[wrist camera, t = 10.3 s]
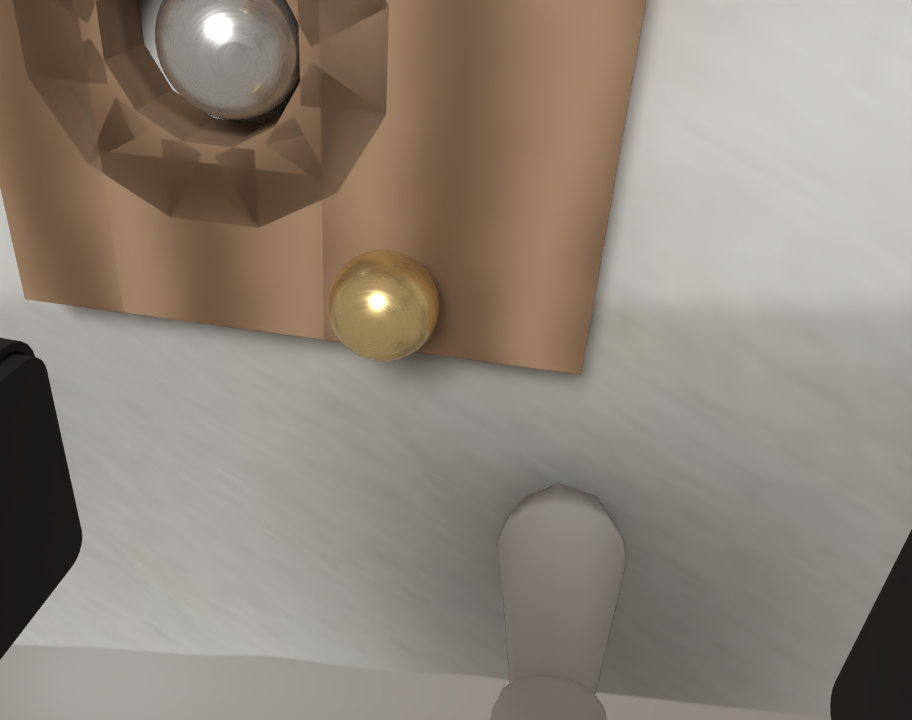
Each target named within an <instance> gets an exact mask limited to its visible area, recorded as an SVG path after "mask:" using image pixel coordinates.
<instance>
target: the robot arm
mask: <svg viewBox="0 0 912 720" xmlns="http://www.w3.org/2000/svg"><path fill="white" fill-rule="evenodd" d="M81 544H82V530H81V526H80V521H79V516H78V512H77V507H76V503H75V498H74V493H73V489H72V484H71V479H70V475H69V470H68V466H67V461H66V456H65V452H64V447H63V443H62V438H61V433H60V429H59V424H58V419H57V415H56V410H55V406H54V401H53V396H52V392H51V387H50V383H49V378H48V373H47V369H46V367H45V364H44V363H43V361H42V360H41V359H39V358H36V357H35V355H34V353H33V350H32V349H31V348H30V347H29V345H28V344H26V343H23V342H21V341H15V340H10V339H4V338H0V659H1V658H2V657H3V655H4V654H5V653H6V651H7V650H8V649H9V648H10V646H11V645H12V644H13V642H14V641H15V640H16V639H17V637H18V636H19V635H20V633H21V632H22V631H23V629H24V628H25V627H26V626H27V624H28V623H29V622H30V620H31V619H32V618H33V616H34V615H35V614H36V613H37V611H38V610H39V609H40V607H41V606H42V605H43V603H44V602H45V601H46V600H47V598H48V597H49V596H50V594H51V593H52V592H53V590H54V589H55V588H56V587H57V585H58V584H59V583H60V581H61V580H62V579H63V577H64V576H65V575H66V574H67V572H68V571H69V570H70V568H71V567H72V566H73V564H74V562H75V561H76V559H77V557H78V554H79V552H80V548H81ZM830 706H831V720H912V530H911V532H910V534H909V536H908V538H907V540H906V542H905V544H904V546H903V548H902V550H901V552H900V554H899V556H898V558H897V560H896V562H895V564H894V566H893V568H892V570H891V572H890V574H889V576H888V578H887V580H886V582H885V584H884V586H883V588H882V590H881V592H880V594H879V596H878V598H877V600H876V602H875V604H874V606H873V608H872V610H871V612H870V614H869V616H868V618H867V620H866V622H865V624H864V626H863V628H862V630H861V632H860V634H859V636H858V638H857V640H856V642H855V644H854V646H853V648H852V650H851V652H850V654H849V656H848V658H847V660H846V662H845V664H844V666H843V668H842V670H841V672H840V673H839V675H838V677H837V679H836V681H835V684H834V687H833V690H832V695H831V705H830Z"/></svg>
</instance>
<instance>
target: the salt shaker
mask: <svg viewBox="0 0 912 720" xmlns="http://www.w3.org/2000/svg"><path fill="white" fill-rule="evenodd" d="M497 546H498V556H499V565H500V575H501V584H502V594H503V603H504V616H505V629H506V642H507V655H508V669H509V682H510V684H509V685H508V686H506V687H504V688H503V690H502V692H501V694H500V696H499V697H498V699H497V701H496V703H495V705H494V707H493V709H492V714H491V720H606V712H605V710H604V707H603V705H602V704H601V703H600V701H599V700H598V699H597V697H596V696H595V693H596V689H597V685H598V681H599V676H600V672H601V668H602V663H603V659H604V655H605V651H606V646H607V642H608V638H609V633H610V629H611V625H612V620H613V616H614V612H615V608H616V603H617V599H618V595H619V590H620V586H621V582H622V578H623V573H624V569H625V565H626V562H625V552H624V542H623V539H622V535H621V533H620V532H619V530H618V529H617V527H616V526H615V524H614V523H613V521H612V520H611V519H610V517H609V516H608V514H607V513H606V511H605V510H604V508H603V507H602V506H601V504H600V503H599V501H598V500H597V498H596V497H595V496H594V495H591V494H588V493H585V492H582V491H579V490H576V489H573V488H570V487H567V486H564V485H561V484H556V485H554V486H551V487H549V488H547V489H544V490H542V491H539V492H537V493H535V494H532V495H530V496H528V497H525V499H524V500H523V501H522V502H521V503H520V504H519V505H518V507H517V508H516V509H515V510H514V511H513V512H512V513H511V515H510V516H509V517H508V519H507V521H506V524H505V526H504V528H503V530H502V532H501V535H500V537H499V540H498V543H497Z"/></svg>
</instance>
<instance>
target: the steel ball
mask: <svg viewBox="0 0 912 720" xmlns="http://www.w3.org/2000/svg"><path fill="white" fill-rule="evenodd" d="M155 43H156V49H157V54H158V58H159V61H160V64H161V66H162V69H163V71H164V73H165V75H166V76H167V78H168V80H169V81H170V83H171V84H172V85H173V87H174V88H175V89H176V90H177V92H178V93H179V94H180V95H181V96H182V97H183V98H184V99H186V100H187V101H188V102H189V103H191V104H192V105H193V106H195V107H197V108H198V109H200V110H202V111H204V112H206V113H208V114H211V115H214V116H217V117H221V118H226V119H249V118H254V117H258V116H260V115H263V114H266V113H268V112H270V111H272V110H274V109H275V108H276V107H278V106H279V105H281V104H282V103H283V102H284V101H285V100H286V99H287V98H288V97H289V96H290V95H291V93H292V92H293V91H294V89H295V88H296V86H297V84H298V82H299V80H300V57H299V23H298V22H297V20H296V18H295V16H294V14H293V12H292V10H291V8H290V6H289V5H288V3H287V1H286V0H163V1H162V3H161V6H160V8H159V11H158V15H157V19H156V26H155Z"/></svg>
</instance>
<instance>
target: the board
mask: <svg viewBox="0 0 912 720" xmlns="http://www.w3.org/2000/svg"><path fill="white" fill-rule="evenodd" d="M286 1H287V3H288V5H289V6H290V8H291V10H292V12H293V14H294V16H295V18H296V20H297V22H298V23H299V57H300V83H299V85H298V87H297V88H296V90H295V92H294V94H293V96H292V97H291V99H290V101H289V103H288V105H287V106H286V108H285V110H284V112H283V113H282V114H280V115H278V116H276V117H274V118H272V119H270V120H268V121H266V122H264V123H262V124H258V123H249V122H240V121H232V120H223V119H214V118H213V117H211V116H210V115H208V114H207V113H205V112H204V111H202V110H200V109H198V108H197V107H195V106H193V105H192V104H191V103H189V102H188V101H187V100H186V99H184V98H183V97H182V96H180V95H179V94H177V93H176V92H175V91H173V90H172V89H171V87H170V86H169V84H168V83H167V81H166V79H165V78H164V76H163V74H162V73H161V71H160V70H159V68H158V66H157V65H156V63H155V61H154V60H153V58H152V56H151V55H150V53H149V52H148V50H147V48H146V47H145V45H144V43H143V36H142V27H141V19H140V11H139V2H138V0H0V188H1V193H2V197H3V202H4V206H5V211H6V215H7V220H8V224H9V229H10V233H11V238H12V242H13V247H14V251H15V256H16V260H17V265H18V269H19V274H20V278H21V283H22V287H23V292H24V296H25V299H28V300H35V301H42V302H50V303H57V304H65V305H72V306H79V307H87V308H94V309H101V310H109V311H116V312H124V313H131V314H138V315H146V316H153V317H160V318H168V319H175V320H182V321H190V322H197V323H205V324H212V325H219V326H227V327H234V328H241V329H249V330H256V331H264V332H271V333H278V334H286V335H293V336H300V337H308V338H315V339H322V340H330V341H337V342H341V341H340V340H339V339H338V337H337V336H336V334H335V332H334V331H333V329H332V326H331V324H330V321H329V317H328V309H327V300H328V294H329V289H330V287H331V284H332V282H333V280H334V278H335V276H336V274H337V273H338V272H339V271H340V269H341V268H342V267H343V266H344V265H345V264H346V263H347V262H348V261H350V260H351V259H353V258H354V257H356V256H358V255H360V254H362V253H365V252H369V251H373V250H392V251H397V252H400V253H403V254H406V255H408V256H410V257H411V258H413V259H415V260H416V261H417V262H419V263H420V264H421V265H422V266H423V267H424V268H425V269H426V270H427V272H428V273H429V274H430V276H431V278H432V279H433V282H434V284H435V286H436V289H437V292H438V298H439V313H438V319H437V322H436V325H435V328H434V330H433V332H432V334H431V335H430V337H429V338H428V340H427V341H426V342H425V343H424V344H423V345H422V346H421V347H420V348H419V349H418V350H416V351H415V352H418V353H426V354H433V355H440V356H448V357H455V358H463V359H470V360H477V361H485V362H492V363H499V364H507V365H514V366H521V367H529V368H536V369H544V370H551V371H558V372H566V373H573V374H580V375H581V373H582V368H583V362H584V356H585V350H586V344H587V339H588V333H589V327H590V321H591V316H592V310H593V304H594V298H595V292H596V287H597V281H598V275H599V269H600V264H601V258H602V252H603V246H604V240H605V235H606V229H607V223H608V217H609V211H610V206H611V200H612V194H613V188H614V183H615V177H616V171H617V165H618V159H619V154H620V148H621V142H622V136H623V131H624V125H625V119H626V113H627V107H628V102H629V96H630V90H631V84H632V78H633V73H634V67H635V61H636V55H637V50H638V44H639V38H640V32H641V26H642V21H643V15H644V9H645V3H646V0H286Z"/></svg>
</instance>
